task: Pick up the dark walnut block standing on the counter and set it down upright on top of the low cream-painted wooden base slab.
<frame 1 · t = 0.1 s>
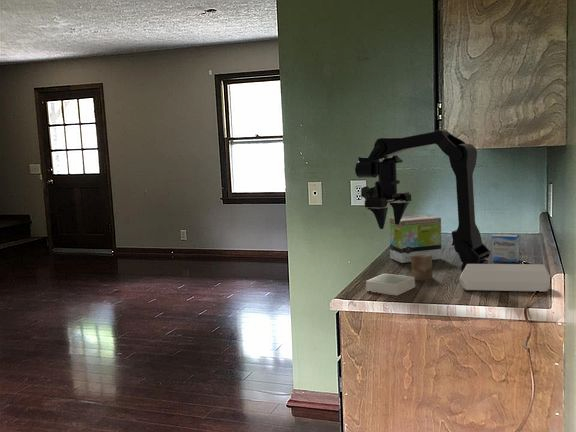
hand: (389, 226, 190), 15 cm above the countertop, tool pointing down, fingers open, 9 cm apart
walnut block: (422, 278, 180), on the countertop
medicine box: (505, 261, 197), on the countertop
tea box: (415, 259, 208), on the countertop
crystal: (504, 290, 164), on the countertop
base slab: (390, 289, 170), on the countertop
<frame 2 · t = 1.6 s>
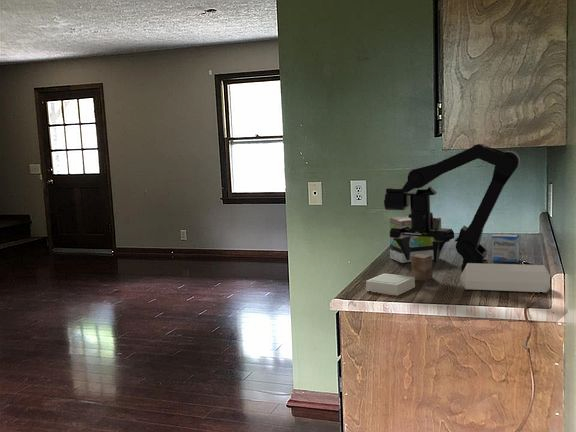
hand: (422, 261, 180), 5 cm above the countertop, tool pointing down, fingers open, 9 cm apart
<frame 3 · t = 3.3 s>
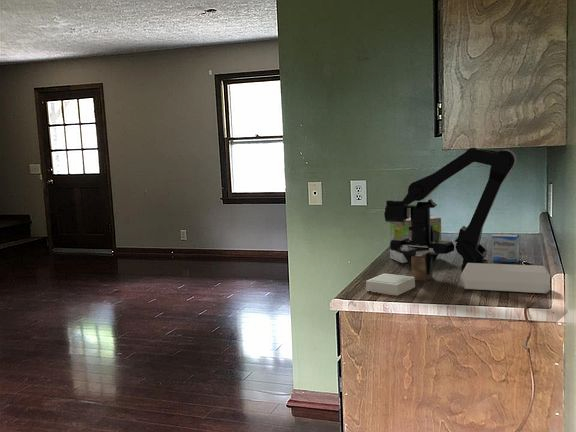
hand: (422, 273, 180), 2 cm above the countertop, tool pointing down, fingers closed on walnut block, 4 cm apart
walnut block: (422, 278, 180), on the countertop, touching gripper
everything else where it was.
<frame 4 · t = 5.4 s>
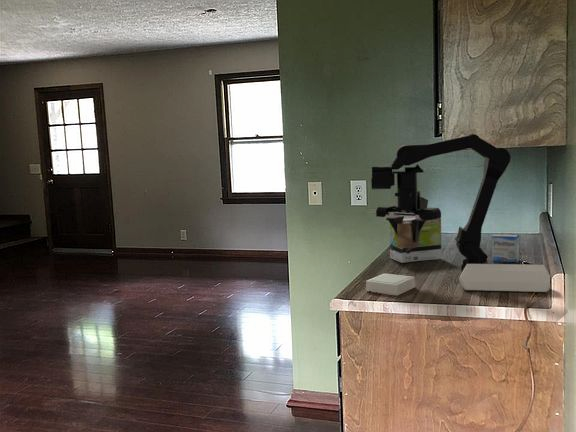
hand: (408, 241, 175), 12 cm above the countertop, tool pointing down, fingers closed on walnut block, 4 cm apart
walnut block: (408, 246, 175), point 11 cm above the countertop, touching gripper
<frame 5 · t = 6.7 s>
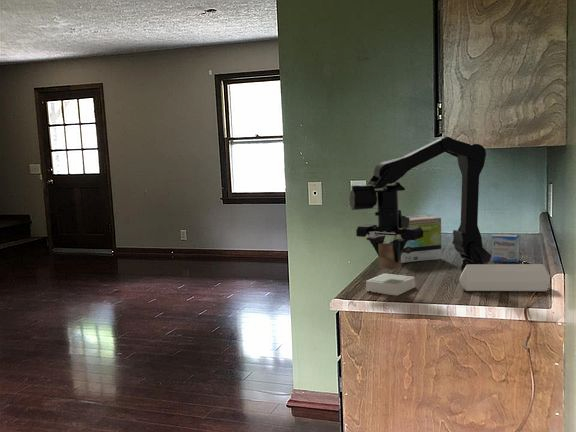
hand: (390, 261, 169), 8 cm above the countertop, tool pointing down, fingers closed on walnut block, 4 cm apart
walnut block: (390, 267, 170), point 6 cm above the countertop, touching gripper
everything else where it was.
when the fingers open (6 cm above the countertop, at t = 7.8 s): walnut block drops 1 cm, resting on base slab.
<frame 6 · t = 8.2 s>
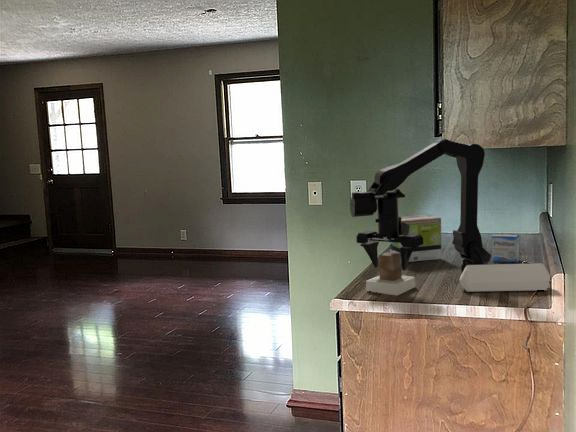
hand: (390, 268, 170), 6 cm above the countertop, tool pointing down, fingers open, 9 cm apart
walnut block: (390, 278, 170), point 3 cm above the countertop, touching base slab
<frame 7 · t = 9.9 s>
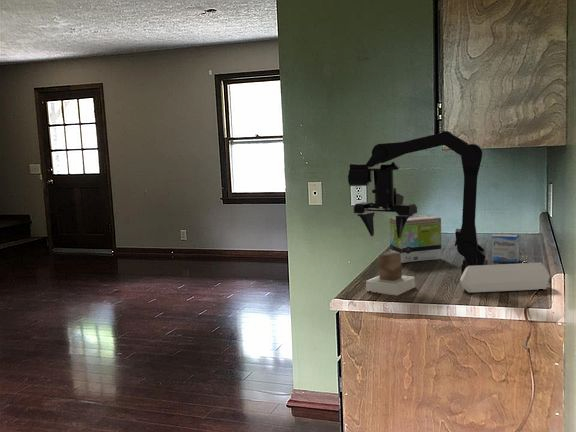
hand: (385, 236, 180), 13 cm above the countertop, tool pointing down, fingers open, 9 cm apart
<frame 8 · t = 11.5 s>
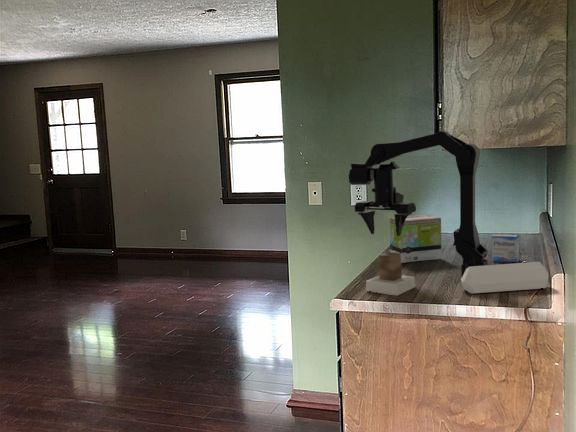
hand: (385, 234, 184), 13 cm above the countertop, tool pointing down, fingers open, 9 cm apart
at the end: walnut block inside the target area on the base slab (0.1 cm from its centre), point 3.1 cm above the base slab's base; walnut block touching base slab; walnut block tilted 0° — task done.
